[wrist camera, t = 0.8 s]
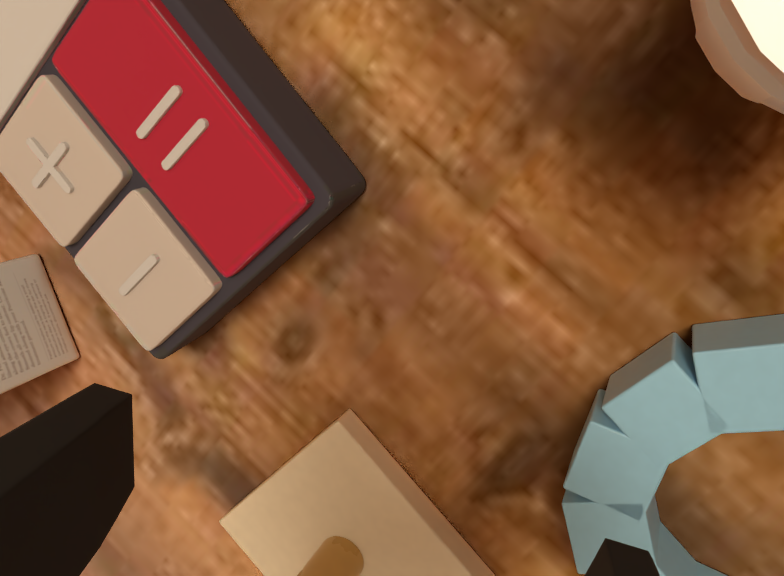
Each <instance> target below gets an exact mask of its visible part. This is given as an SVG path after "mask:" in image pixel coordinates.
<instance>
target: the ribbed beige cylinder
mask: <svg viewBox="0 0 784 576" xmlns="http://www.w3.org/2000/svg"><path fill="white" fill-rule="evenodd" d="M690 2H691V4H690V5H691V9H692V14H693V18H694V22H695V27H696V35H695V38H696V40H697V42H698V44H699V45H700V47H701V49H702V50H703V52H704V54H705V56H706V57H707V59H708V61H709V62H710V64H711V66H712V68H713V69H714V71H715V72H716V73H717V74H718V75H719V76H720V77H721V78H722V79H723V80H724V81H726V82H727V83H728V84H729V85H730V86H731V87H732V88H733V89H734V90H735V91H736V92H737V93H738V94H739V95H740V96H741V97H742V98H745V99H748V100H750V101H753V102H756V103H762V104H764V105H766V106H768V107H770V108H772V109H774V110H776V111H778V112H780V113H782V114H784V0H690Z"/></svg>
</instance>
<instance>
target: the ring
mask: <svg viewBox="0 0 784 576" xmlns="http://www.w3.org/2000/svg"><path fill="white" fill-rule="evenodd" d="M780 430H784V314H779V315H770V316H762V317H753V318H745V319H737V320H728V321H720V322H711V323H703V324H694V325H693V326H692V350H691V349H690V347H689V346H688V345H687V344H686V343H685V342H684V341H683V340H682V339H681V338H680V337H679V335H678V334H677V333H675V332H674V333H671V334H670V335H668V336H667V337H666V338H664V339H663V340H661V341H660V342H658V343H657V344H655V345H654V346H652V347H651V348H650V349H648V350H647V351H645V352H644V353H642V354H641V355H639V356H638V357H637V358H635V359H634V360H632V361H631V362H629V363H628V364H626V365H625V366H623V367H622V368H621V369H619V370H618V371H616V372H615V373H613V374H612V375H611V376H610V378H609V381H608V385H607V389H606V391H605V390H603V389H599V390H598V392H597V395H596V397H595V400H594V402H593V405H592V407H591V410H590V412H589V414H588V417H587V419H586V422H585V424H584V427H583V429H582V432H581V434H580V437H579V439H578V442H577V444H576V447H575V449H574V452H573V455H572V459H571V462H570V465H569V468H568V471H567V475H566V478H565V481H564V484H563V488H564V489H566V491H565V494H564V497H563V501H562V507H563V512H564V516H565V520H566V525H567V529H568V533H569V538H570V542H571V546H572V551H573V555H574V559H575V564H576V568H577V572H578V574H586V572H587V570H588V568H589V567H590V565H591V563H592V561H593V559H594V558H595V556H596V554H597V552H598V550H599V548H600V547H601V545H602V543H603V541H604V539H605V538H607V539H611V540H614V541H617V542H620V543H624V544H627V545H630V546H634V547H637V548H640V549H644V550H647V551H649V553H650V555H651V557H652V558H653V561H654V563H655V565H656V568H657V570H658V572H659V575H660V576H728V575H725V574H723V573H721V572H719V571H717V570H714V569H712V568H710V567H708V566H705V565H703V564H701V563H699V562H696V561H695V560H694V559H693V557H692V556H691V555H690V554H689V553H688V552H687V551H686V550H685V548H684V547H683V546H682V545H681V544H680V543H679V542H678V541H677V540H676V538H675V537H674V536H673V535H672V534H671V533H670V532H669V531H668V529H667V528H666V527H665V526H664V525H663V524H662V523H661V522H660V518H659V513H658V508H657V503H656V498H655V493H656V490H657V488H658V486H659V484H660V482H661V480H662V478H663V476H664V473H665V471H666V469H667V467H668V465H669V464H670V463H672V462H674V461H675V460H677V459H679V458H680V457H682V456H684V455H686V454H687V453H689V452H691V451H692V450H694V449H696V448H698V447H699V446H701V445H703V444H704V443H706V442H708V441H710V440H711V439H713V438H715V437H716V436H718V435H720V434H723V433H742V432H761V431H780Z"/></svg>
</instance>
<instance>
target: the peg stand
mask: <svg viewBox="0 0 784 576" xmlns="http://www.w3.org/2000/svg"><path fill="white" fill-rule="evenodd" d="M219 522H220V524H221V525H222V526H223V527H224V529H225V530H226V531H227V532H228V533H229V535H230V536H231V537H232V538H233V539H234V540H235V542H236V543H237V544H238V545H239V546H240V548H241V549H242V550H243V551H244V552H245V554H246V555H247V556H248V557H249V558H250V559H251V561H252V562H253V563H254V564H255V565H256V567H257V568H258V569H259V570H260V571H261V573H262V574H263V575H264V576H495V574H494V573H493V572H492V571H491V570H490V569H489V568H488V566H487V565H486V564H485V563H484V562H483V561H482V559H481V558H480V557H479V556H478V555H477V554H476V553H475V551H474V550H473V549H472V548H471V547H470V546H469V545H468V543H467V542H466V541H465V540H464V539H463V538H462V536H461V535H460V534H459V533H458V532H457V531H456V530H455V528H454V527H453V526H452V525H451V524H450V523H449V521H448V520H447V519H446V518H445V517H444V516H443V515H442V513H441V512H440V511H439V510H438V509H437V508H436V506H435V505H434V504H433V503H432V502H431V501H430V500H429V498H428V497H427V496H426V495H425V494H424V493H423V492H422V490H421V489H420V488H419V487H418V486H417V485H416V483H415V482H414V481H413V480H412V479H411V478H410V477H409V475H408V474H407V473H406V472H405V471H404V470H403V468H402V467H401V466H400V465H399V464H398V463H397V462H396V460H395V459H394V458H393V457H392V456H391V455H390V454H389V452H388V451H387V450H386V449H385V448H384V447H383V445H382V444H381V443H380V442H379V441H378V440H377V439H376V437H375V436H374V435H373V434H372V433H371V432H370V430H369V429H368V428H367V427H366V426H365V425H364V424H363V422H362V421H361V420H360V419H359V418H358V417H357V415H356V414H355V413H354V412H353V411H352V410H351V409H348V410H347V411H346V412H345V413H343V414H342V415H341V416H340V417H339V418H338V419H336V420H335V421H334V422H333V423H332V424H331V425H329V426H328V427H327V428H326V429H325V430H324V431H322V432H321V433H320V434H319V435H318V436H316V437H315V438H314V439H313V440H312V441H311V442H309V443H308V444H307V445H306V446H305V447H304V448H302V449H301V450H300V451H299V452H298V453H297V454H295V455H294V456H293V457H292V458H291V459H290V460H288V461H287V462H286V463H285V464H284V465H283V466H281V467H280V468H279V469H278V470H277V471H275V472H274V473H273V474H272V475H271V476H270V477H268V478H267V479H266V480H265V481H264V482H263V483H261V484H260V485H259V486H258V487H257V488H256V489H254V490H253V491H252V492H251V493H250V494H249V495H247V496H246V497H245V498H244V499H243V500H242V501H240V502H239V503H238V504H237V505H236V506H234V507H233V508H232V509H231V510H230V511H229V512H228V513H227V514H226V515H225V516H224V517H223V518H222V519H221V520H220V521H219Z"/></svg>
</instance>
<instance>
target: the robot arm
mask: <svg viewBox="0 0 784 576" xmlns="http://www.w3.org/2000/svg"><path fill="white" fill-rule="evenodd" d="M133 488H134V454H133V419H132V394H129V393H125V392H122V391H119V390H115V389H112V388H109V387H106V386H102V385H99V384H96V383H94V384H92V385H90V386H89V387H87V388H85V389H83V390H82V391H80V392H78V393H76V394H74V395H73V396H71V397H69V398H67V399H66V400H64V401H62V402H60V403H59V404H57V405H55V406H54V407H52V408H50V409H48V410H47V411H45V412H43V413H42V414H40V415H38V416H36V417H35V418H33V419H31V420H30V421H28V422H26V423H24V424H23V425H21V426H19V427H17V428H16V429H14V430H12V431H11V432H9V433H7V434H5V435H4V436H2V437H0V576H79V575H80V574H81V573H82V571H83V570H84V568H85V567H86V566H87V564H88V563H89V562H90V560H91V559H92V557H93V556H94V555H95V553H96V552H97V550H98V549H99V548H100V546H101V544H102V543H103V541H104V539H105V537H106V536H107V534H108V532H109V531H110V529H111V527H112V526H113V524H114V522H115V521H116V519H117V517H118V515H119V513H120V512H121V510H122V508H123V506H124V504H125V503H126V501H127V499H128V497H129V495H130V494H131V492H132V490H133ZM585 576H660V575H659V572H658V570H657V568H656V565H655V563H654V561H653V558H652V557H651V555H650V553H649V551H647V550H644V549H640V548H637V547H634V546H630V545H627V544H624V543H620V542H617V541H614V540H611V539H607V538H605V539H604V541H603V543H602V545H601V547H600V548H599V550H598V552H597V554H596V556H595V558H594V559H593V561H592V563H591V565H590V567H589V568H588V570H587V572H586V574H585Z"/></svg>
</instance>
